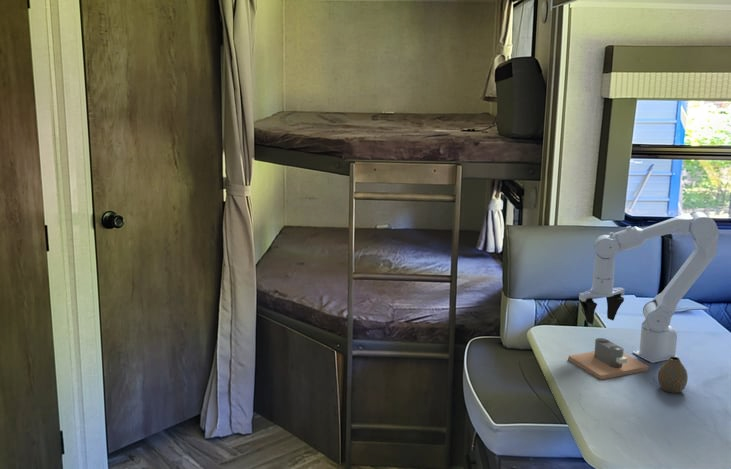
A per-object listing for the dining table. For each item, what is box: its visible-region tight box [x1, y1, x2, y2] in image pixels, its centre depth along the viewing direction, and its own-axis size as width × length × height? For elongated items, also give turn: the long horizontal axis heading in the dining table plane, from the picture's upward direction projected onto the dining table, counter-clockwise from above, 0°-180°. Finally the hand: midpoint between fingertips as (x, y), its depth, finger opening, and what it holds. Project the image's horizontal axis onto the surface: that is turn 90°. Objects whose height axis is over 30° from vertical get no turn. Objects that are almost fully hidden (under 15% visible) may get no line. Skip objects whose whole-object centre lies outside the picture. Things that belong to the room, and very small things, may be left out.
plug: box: [594, 337, 628, 368], centre depth 184 cm, size 4×11×5 cm, turn 20°
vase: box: [657, 356, 688, 394], centre depth 169 cm, size 7×7×9 cm
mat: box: [568, 350, 649, 380], centre depth 185 cm, size 16×14×1 cm
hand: (600, 321), depth 193 cm, fingers open, 7 cm apart
